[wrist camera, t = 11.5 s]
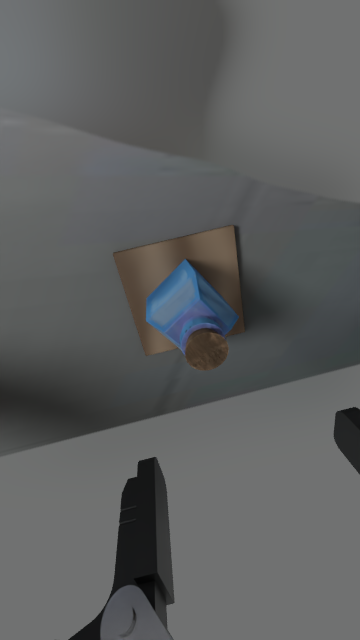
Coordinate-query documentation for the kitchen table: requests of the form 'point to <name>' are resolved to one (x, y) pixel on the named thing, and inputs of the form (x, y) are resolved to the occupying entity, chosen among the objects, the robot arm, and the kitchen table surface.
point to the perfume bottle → (192, 316)
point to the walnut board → (162, 259)
